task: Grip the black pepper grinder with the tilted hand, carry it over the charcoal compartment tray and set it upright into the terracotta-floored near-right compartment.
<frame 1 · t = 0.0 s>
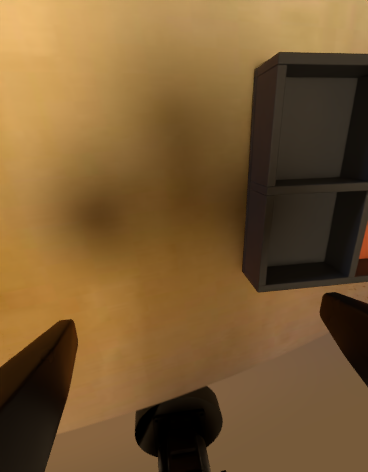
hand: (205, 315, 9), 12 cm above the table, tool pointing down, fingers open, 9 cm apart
tray: (338, 179, 21), on the table
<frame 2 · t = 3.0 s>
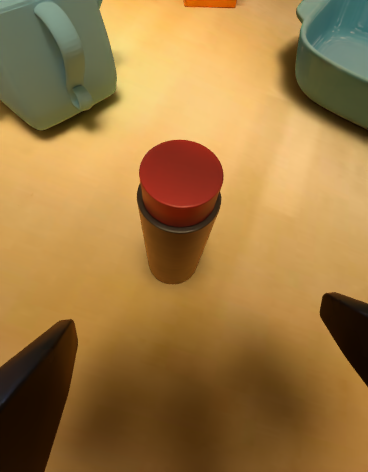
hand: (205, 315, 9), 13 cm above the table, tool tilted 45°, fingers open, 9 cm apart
teapot: (47, 86, 32), on the table
pepper grinder: (172, 260, 24), on the table
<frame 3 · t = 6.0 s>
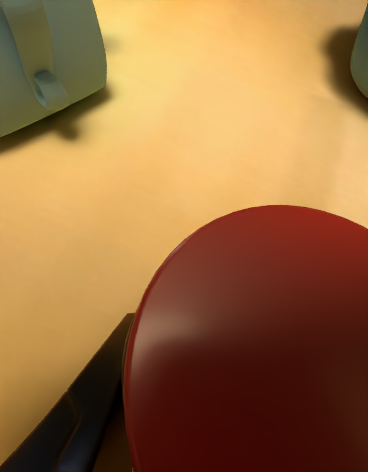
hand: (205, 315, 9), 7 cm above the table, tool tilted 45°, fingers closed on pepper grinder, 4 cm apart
teapot: (11, 77, 23), on the table
pepper grinder: (190, 357, 14), on the table, touching gripper
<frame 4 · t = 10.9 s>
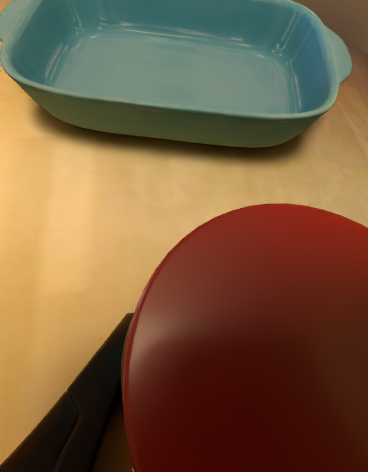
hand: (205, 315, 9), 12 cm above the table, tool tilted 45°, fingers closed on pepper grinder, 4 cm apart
casserole dish: (175, 94, 33), on the table
pepper grinder: (190, 357, 14), point 6 cm above the table, touching gripper
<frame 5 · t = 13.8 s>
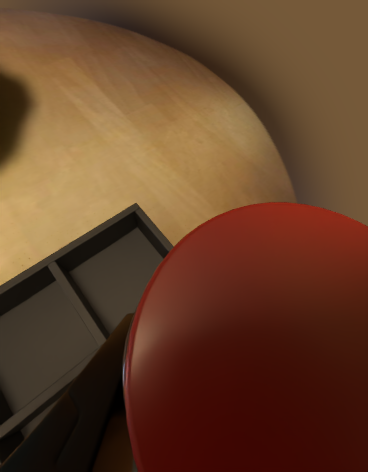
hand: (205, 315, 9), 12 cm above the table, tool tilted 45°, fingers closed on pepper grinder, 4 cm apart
pepper grinder: (190, 356, 14), point 6 cm above the table, touching gripper
tray: (114, 348, 19), on the table
when the fingers open (7 cm above the table, at t = 15.9 s): pepper grinder stays where it is, resting on tray.
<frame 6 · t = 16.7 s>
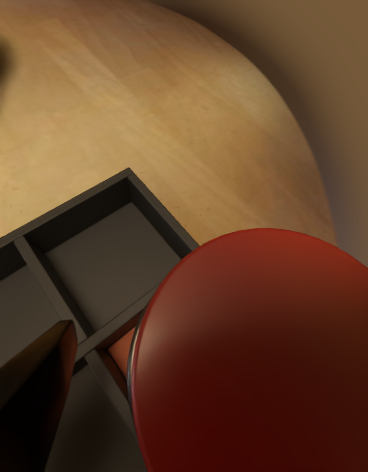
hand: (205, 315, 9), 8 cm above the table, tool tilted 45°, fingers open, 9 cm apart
pepper grinder: (189, 358, 15), point 1 cm above the table, touching tray
tray: (101, 348, 15), on the table
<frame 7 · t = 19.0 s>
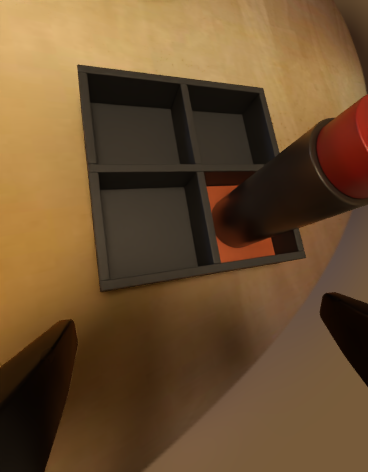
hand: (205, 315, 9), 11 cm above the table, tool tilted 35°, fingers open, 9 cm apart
pepper grinder: (234, 222, 22), point 1 cm above the table, touching tray
tray: (184, 186, 22), on the table
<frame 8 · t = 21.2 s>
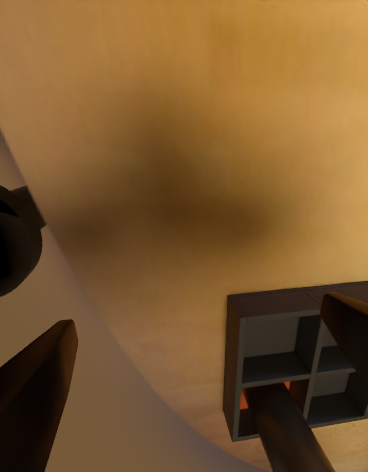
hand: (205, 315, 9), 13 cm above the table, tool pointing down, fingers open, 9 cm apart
pepper grinder: (261, 384, 28), point 1 cm above the table, touching tray
tray: (293, 349, 28), on the table
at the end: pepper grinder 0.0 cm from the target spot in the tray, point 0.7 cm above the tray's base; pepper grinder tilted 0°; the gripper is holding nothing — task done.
